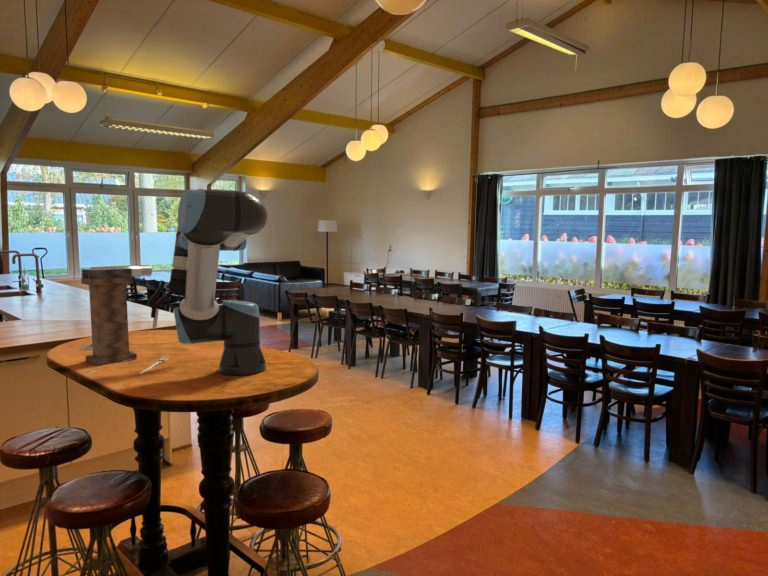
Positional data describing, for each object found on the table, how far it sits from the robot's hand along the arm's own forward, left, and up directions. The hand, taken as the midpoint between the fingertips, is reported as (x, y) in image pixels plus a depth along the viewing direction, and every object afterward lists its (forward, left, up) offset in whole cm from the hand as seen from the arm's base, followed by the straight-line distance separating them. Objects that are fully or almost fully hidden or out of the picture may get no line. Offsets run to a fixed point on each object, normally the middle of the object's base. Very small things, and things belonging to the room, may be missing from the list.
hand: (174, 329), depth 186 cm
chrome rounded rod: (+19, +13, +18) cm, 29 cm away
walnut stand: (+19, +18, -12) cm, 28 cm away
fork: (0, +8, -13) cm, 15 cm away
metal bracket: (+46, +15, -13) cm, 50 cm away
